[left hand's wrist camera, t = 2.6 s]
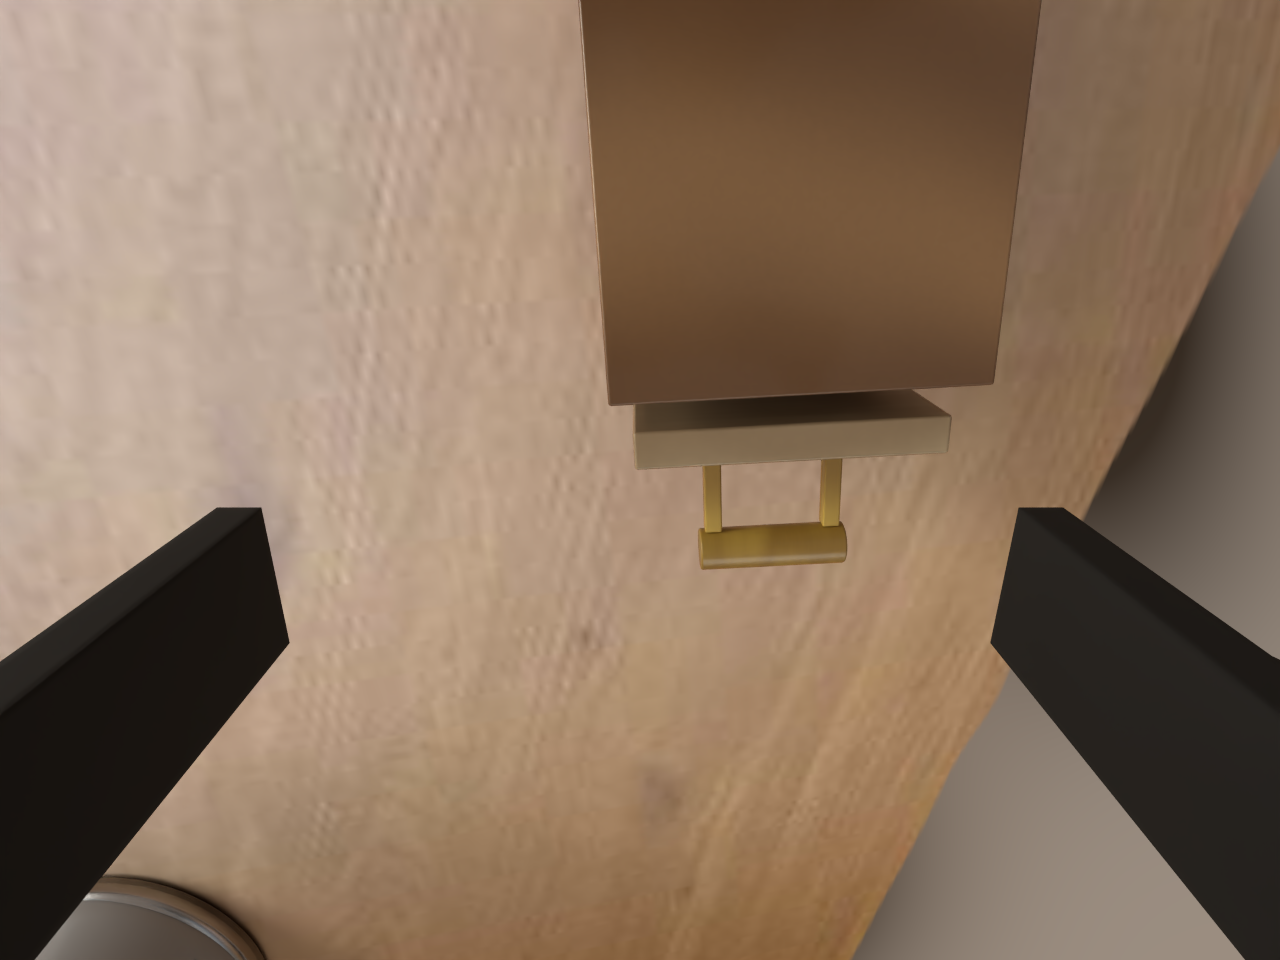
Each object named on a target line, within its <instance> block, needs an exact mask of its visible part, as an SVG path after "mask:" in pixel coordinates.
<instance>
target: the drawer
mask: <svg viewBox="0 0 1280 960" xmlns="http://www.w3.org/2000/svg"><path fill="white" fill-rule="evenodd" d="M951 419H952V417H951V415H950V414H948V413H946V412H945V411H943V410H942V409H940V408H939V407H937V406H936V405H934V404H933V403H931V402H930V401H928V400H927V399H925V398H924V397H922V396H921V395H919V394H918V393H916V392H915V391H913V390H912V389H906V390H888V391H870V392H852V393H834V394H817V395H799V396H781V397H763V398H745V399H727V400H709V401H691V402H673V403H655V404H637V405H633V446H634V462H635V468H636V469H638V470H641V469H659V468H678V467H696V466H703V505H704V528H700V529H699V530H698V548H699V560H700V567H701V569H702V570H707V569H727V568H746V567H765V566H785V565H804V564H823V563H842V562H844V561H845V559H846V555H847V537H846V532H845V528H844V526H843V524H842V522H841V521H839V517H840V497H841V476H842V459H844V458H862V457H881V456H899V455H918V454H936V453H947V452H948V447H949V438H950V428H951ZM807 460H821V485H820V511H819V520H820V522H808V523H789V524H770V525H751V526H732V527H722V504H721V465H733V464H751V463H770V462H788V461H807Z"/></svg>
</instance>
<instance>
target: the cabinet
mask: <svg viewBox="0 0 1280 960" xmlns="http://www.w3.org/2000/svg"><path fill="white" fill-rule="evenodd" d="M578 3H579V16H580V30H581V43H582V56H583V70H584V83H585V97H586V110H587V124H588V137H589V151H590V164H591V178H592V191H593V204H594V218H595V231H596V245H597V258H598V272H599V285H600V299H601V312H602V325H603V339H604V352H605V366H606V379H607V393H608V404H609V405H610V406H619V405H637V404H655V403H673V402H691V401H709V400H727V399H745V398H763V397H781V396H799V395H817V394H834V393H852V392H870V391H888V390H906V389H924V388H942V387H960V386H978V385H991V384H993V383H994V376H995V368H996V360H997V352H998V344H999V336H1000V328H1001V320H1002V312H1003V304H1004V296H1005V288H1006V280H1007V272H1008V264H1009V256H1010V248H1011V240H1012V232H1013V224H1014V216H1015V208H1016V200H1017V192H1018V184H1019V176H1020V168H1021V160H1022V152H1023V144H1024V136H1025V128H1026V120H1027V112H1028V104H1029V96H1030V88H1031V80H1032V72H1033V64H1034V56H1035V48H1036V40H1037V32H1038V24H1039V16H1040V8H1041V0H578Z"/></svg>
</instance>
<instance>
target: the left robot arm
mask: <svg viewBox="0 0 1280 960" xmlns="http://www.w3.org/2000/svg"><path fill="white" fill-rule="evenodd" d="M288 644H289V638H288V633H287V628H286V623H285V619H284V614H283V609H282V604H281V599H280V595H279V590H278V585H277V580H276V576H275V571H274V566H273V561H272V556H271V552H270V547H269V542H268V537H267V533H266V528H265V523H264V518H263V513H262V509H261V508H216V509H214V510H213V511H212V512H210V513H209V514H207V515H206V516H205V517H203V518H202V519H200V520H199V521H198V522H196V523H195V524H193V525H192V526H190V527H189V528H188V529H186V530H185V531H183V532H182V533H181V534H179V535H178V536H176V537H175V538H174V539H172V540H171V541H169V542H168V543H167V544H165V545H164V546H162V547H161V548H160V549H158V550H157V551H155V552H154V553H152V554H151V555H150V556H148V557H147V558H145V559H144V560H143V561H141V562H140V563H138V564H137V565H136V566H134V567H133V568H131V569H130V570H129V571H127V572H126V573H124V574H123V575H122V576H120V577H119V578H117V579H116V580H115V581H113V582H112V583H110V584H109V585H107V586H106V587H105V588H103V589H102V590H100V591H99V592H98V593H96V594H95V595H93V596H92V597H91V598H89V599H88V600H86V601H85V602H84V603H82V604H81V605H79V606H78V607H77V608H75V609H74V610H72V611H71V612H69V613H68V614H67V615H65V616H64V617H62V618H61V619H60V620H58V621H57V622H55V623H54V624H53V625H51V626H50V627H48V628H47V629H46V630H44V631H43V632H41V633H40V634H39V635H37V636H36V637H34V638H33V639H31V640H30V641H29V642H27V643H26V644H24V645H23V646H22V647H20V648H19V649H17V650H16V651H15V652H13V653H12V654H10V655H9V656H8V657H6V658H5V659H3V660H2V661H1V662H0V960H264V958H263V956H262V954H261V952H260V951H259V949H258V947H257V946H256V945H255V943H254V942H253V941H252V939H251V938H250V937H249V936H248V935H247V934H246V933H245V931H244V930H243V929H241V928H240V927H239V926H238V925H237V924H236V923H235V922H234V921H232V920H231V919H230V918H229V917H227V916H226V915H225V914H223V913H222V912H220V911H219V910H217V909H216V908H214V907H212V906H211V905H209V904H207V903H205V902H204V901H202V900H200V899H198V898H195V897H193V896H191V895H189V894H186V893H184V892H181V891H179V890H176V889H173V888H170V887H167V886H164V885H160V884H156V883H152V882H147V881H142V880H136V879H128V878H116V877H102V876H103V874H104V873H105V872H106V871H107V869H108V868H109V867H110V866H111V864H112V863H113V862H114V861H115V859H116V858H117V857H118V856H119V854H120V853H121V852H122V851H123V850H124V848H125V847H126V846H127V845H128V843H129V842H130V841H131V840H132V838H133V837H134V836H135V835H136V833H137V832H138V831H139V830H140V828H141V827H142V826H143V825H144V823H145V822H146V821H147V820H148V818H149V817H150V816H151V815H152V813H153V812H154V811H155V810H156V808H157V807H158V806H159V805H160V803H161V802H162V801H163V800H164V799H165V797H166V796H167V795H168V794H169V792H170V791H171V790H172V789H173V787H174V786H175V785H176V784H177V782H178V781H179V780H180V779H181V777H182V776H183V775H184V774H185V772H186V771H187V770H188V769H189V767H190V766H191V765H192V764H193V762H194V761H195V760H196V759H197V757H198V756H199V755H200V754H201V752H202V751H203V750H204V749H205V747H206V746H207V745H208V744H209V743H210V741H211V740H212V739H213V738H214V736H215V735H216V734H217V733H218V731H219V730H220V729H221V728H222V726H223V725H224V724H225V723H226V721H227V720H228V719H229V718H230V716H231V715H232V714H233V713H234V711H235V710H236V709H237V708H238V706H239V705H240V704H241V703H242V701H243V700H244V699H245V698H246V696H247V695H248V694H249V693H250V692H251V690H252V689H253V688H254V687H255V685H256V684H257V683H258V682H259V680H260V679H261V678H262V677H263V675H264V674H265V673H266V672H267V670H268V669H269V668H270V667H271V665H272V664H273V663H274V662H275V660H276V659H277V658H278V657H279V655H280V654H281V653H282V652H283V650H284V649H285V648H286V647H287V645H288ZM991 644H992V645H993V647H994V648H995V649H996V650H997V652H998V653H999V654H1000V655H1001V657H1002V658H1003V659H1004V660H1005V662H1006V663H1007V664H1008V665H1009V667H1010V668H1011V669H1012V670H1013V672H1014V673H1015V674H1016V675H1017V677H1018V678H1019V679H1020V680H1021V681H1022V683H1023V684H1024V685H1025V687H1026V688H1027V689H1028V690H1029V692H1030V693H1031V694H1032V695H1033V696H1034V698H1035V699H1036V700H1037V701H1038V703H1039V704H1040V705H1041V706H1042V708H1043V709H1044V710H1045V711H1046V713H1047V714H1048V715H1049V716H1050V718H1051V719H1052V720H1053V721H1054V723H1055V724H1056V725H1057V726H1058V728H1059V729H1060V730H1061V731H1062V732H1063V734H1064V735H1065V736H1066V738H1067V739H1068V740H1069V741H1070V743H1071V744H1072V745H1073V746H1074V747H1075V749H1076V750H1077V751H1078V752H1079V754H1080V755H1081V756H1082V757H1083V759H1084V760H1085V761H1086V762H1087V764H1088V765H1089V766H1090V767H1091V769H1092V770H1093V771H1094V772H1095V774H1096V775H1097V776H1098V777H1099V779H1100V780H1101V781H1102V782H1103V784H1104V785H1105V786H1106V787H1107V789H1108V790H1109V791H1110V792H1111V794H1112V795H1113V796H1114V797H1115V799H1116V800H1117V801H1118V802H1119V803H1120V805H1121V806H1122V807H1123V808H1124V810H1125V811H1126V812H1127V813H1128V815H1129V816H1130V817H1131V818H1132V820H1133V821H1134V822H1135V823H1136V825H1137V826H1138V827H1139V828H1140V830H1141V831H1142V832H1143V833H1144V835H1145V836H1146V837H1147V838H1148V840H1149V841H1150V842H1151V843H1152V845H1153V846H1154V847H1155V848H1156V850H1157V851H1158V852H1159V853H1160V854H1161V856H1162V857H1163V858H1164V859H1165V861H1166V862H1167V863H1168V864H1169V866H1170V867H1171V868H1172V869H1173V871H1174V872H1175V873H1176V874H1177V876H1178V877H1179V878H1180V879H1181V881H1182V882H1183V883H1184V884H1185V886H1186V887H1187V888H1188V889H1189V891H1190V892H1191V893H1192V894H1193V896H1194V897H1195V898H1196V899H1197V901H1198V902H1199V903H1200V904H1201V905H1202V907H1203V908H1204V909H1205V910H1206V912H1207V913H1208V914H1209V915H1210V917H1211V918H1212V919H1213V920H1214V922H1215V923H1216V924H1217V925H1218V927H1219V928H1220V929H1221V930H1222V932H1223V933H1224V934H1225V935H1226V937H1227V938H1228V939H1229V940H1230V942H1231V943H1232V944H1233V945H1234V947H1235V948H1236V949H1237V950H1238V952H1239V953H1240V954H1241V955H1242V956H1243V958H1244V959H1245V960H1280V660H1279V659H1277V658H1275V657H1272V656H1271V655H1270V654H1268V653H1267V652H1265V651H1264V650H1263V649H1261V648H1260V647H1258V646H1257V645H1255V644H1254V643H1253V642H1251V641H1250V640H1248V639H1247V638H1246V637H1244V636H1243V635H1241V634H1240V633H1239V632H1237V631H1236V630H1234V629H1233V628H1232V627H1230V626H1229V625H1227V624H1226V623H1225V622H1223V621H1222V620H1220V619H1219V618H1218V617H1216V616H1215V615H1213V614H1212V613H1210V612H1209V611H1208V610H1206V609H1205V608H1203V607H1202V606H1201V605H1199V604H1198V603H1196V602H1195V601H1194V600H1192V599H1191V598H1189V597H1188V596H1187V595H1185V594H1184V593H1182V592H1181V591H1179V590H1178V589H1177V588H1175V587H1174V586H1173V585H1171V584H1170V583H1168V582H1167V581H1165V580H1164V579H1163V578H1161V577H1160V576H1158V575H1157V574H1156V573H1154V572H1153V571H1151V570H1150V569H1149V568H1147V567H1146V566H1144V565H1143V564H1142V563H1140V562H1139V561H1137V560H1136V559H1135V558H1133V557H1132V556H1130V555H1129V554H1128V553H1126V552H1125V551H1123V550H1122V549H1120V548H1119V547H1118V546H1116V545H1115V544H1113V543H1112V542H1111V541H1109V540H1108V539H1106V538H1105V537H1104V536H1102V535H1101V534H1099V533H1098V532H1097V531H1095V530H1094V529H1092V528H1091V527H1090V526H1088V525H1087V524H1085V523H1084V522H1082V521H1081V520H1080V519H1078V518H1077V517H1075V516H1074V515H1073V514H1071V513H1070V512H1068V511H1067V510H1066V509H1064V508H1019V509H1018V513H1017V518H1016V523H1015V528H1014V533H1013V537H1012V542H1011V547H1010V552H1009V556H1008V561H1007V566H1006V571H1005V576H1004V580H1003V585H1002V590H1001V595H1000V599H999V604H998V609H997V614H996V619H995V623H994V628H993V633H992V638H991Z"/></svg>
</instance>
